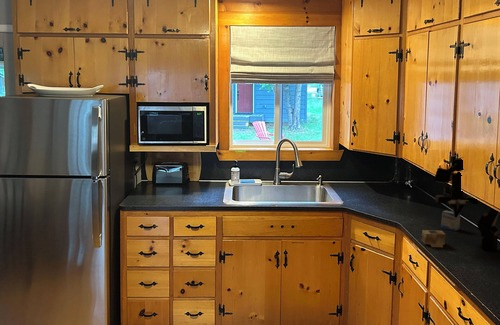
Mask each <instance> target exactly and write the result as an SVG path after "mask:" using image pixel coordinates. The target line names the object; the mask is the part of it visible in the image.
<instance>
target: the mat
mask: <svg viewBox="0 0 500 325" xmlns="http://www.w3.org/2000/svg"><path fill="white" fill-rule="evenodd" d="M429 245H430V246H431V248H444V245H433V244H429Z"/></svg>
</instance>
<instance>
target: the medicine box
mask: <svg viewBox="0 0 500 325" xmlns="http://www.w3.org/2000/svg"><path fill="white" fill-rule="evenodd" d="M460 222H461V212H460V213H459V214H458V216H457V218H455V217H454V214H453V211H450V210H443V211H442V213H441V223H440V224H441V225H440V228H441V229H445V230H450V231H451V230H452V231H455V232H456V231H458V230H460V225H461V223H460Z"/></svg>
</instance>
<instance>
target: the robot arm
mask: <svg viewBox="0 0 500 325" xmlns="http://www.w3.org/2000/svg"><path fill="white" fill-rule="evenodd" d="M461 158H462V157H458V158H456V159H454V160H452V162H451V165H450V167H449V168H442V167H438V168H437V169H436V172H435V175H434V181H435V182H436V183H440V184H441V183H442V184H449V183H450V182H451V185H450V187H448V186H444V187H443V194H436V195H435V197H434V201H435V202H436V203H438V204H446V203H448V204H449V206H451V207H450V208H451V210H452V212H453V214H454V217H455V218H457V216H458V214H459V213H460V214H461V211H462V209H463V208H464V207H465V206H467V204H466V202H470V204H472V205H479V204H480V200H479V201H478V200H477V199H475V198H473V197H471V196H472V195H467V196H466V197H465V191H464V192H463V191H461V176H462V175H461V173H460V172H463V171H462V170H463V160H462V159H461ZM446 195H447V196H446ZM499 215H500V212H498V211H496V210H494V209H492V208H491V209H490V210H489V212H488V213H487V212H484V213H483V214H481V217H480V219H479V220H477V226H476V227H477V229H478V231H479V232H480V235H481V236H480V237H479V238H480V239H479V245H478V247H479V248H480V249H482V250H483V251H493V252H494V251H495V252H499V249H498V240H499V238H498V237H499V236H498V234H499V232H500V230H499V228H498V227H497V226H496V222H497V220H498V217H499Z"/></svg>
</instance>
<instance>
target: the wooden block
mask: <svg viewBox="0 0 500 325" xmlns="http://www.w3.org/2000/svg"><path fill="white" fill-rule="evenodd" d="M421 231H422V232H421V241H422V243H423V244H424V245H430V244H433V245H443V246H445V244H446V233H444V231H442V230H430V229H429V230H427V229H422V230H421Z"/></svg>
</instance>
